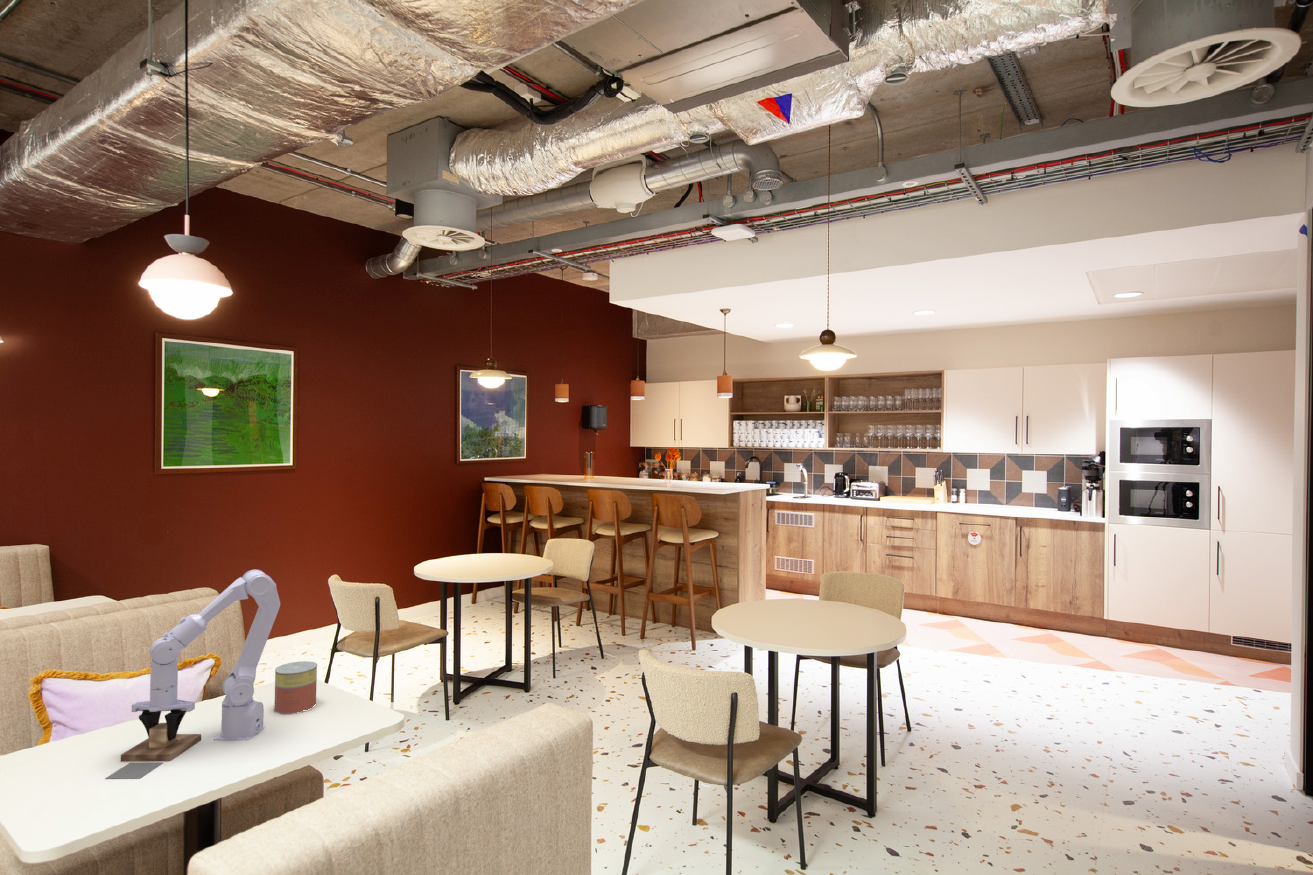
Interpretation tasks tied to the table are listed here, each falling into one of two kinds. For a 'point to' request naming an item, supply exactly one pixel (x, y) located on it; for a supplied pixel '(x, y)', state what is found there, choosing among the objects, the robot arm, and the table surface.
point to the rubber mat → (134, 770)
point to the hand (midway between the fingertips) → (162, 739)
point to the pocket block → (161, 749)
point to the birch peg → (159, 736)
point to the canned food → (295, 687)
